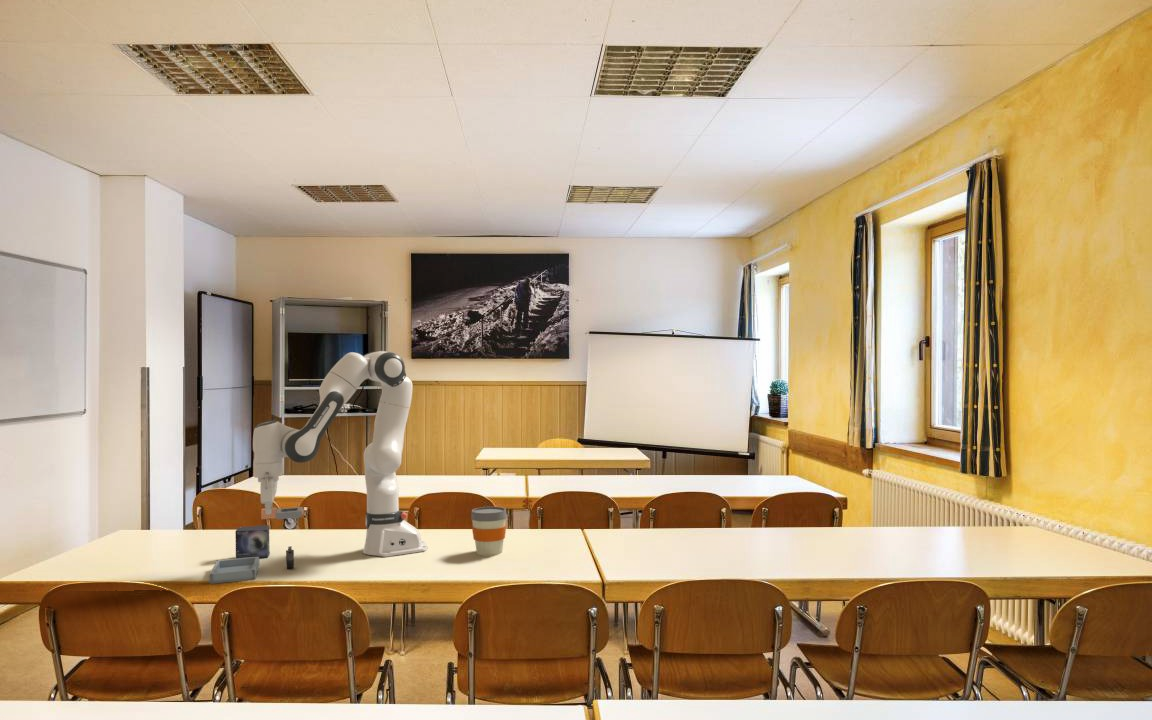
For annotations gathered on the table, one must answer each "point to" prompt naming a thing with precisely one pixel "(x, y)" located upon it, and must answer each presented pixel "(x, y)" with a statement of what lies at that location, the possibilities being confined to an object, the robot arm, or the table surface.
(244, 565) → the tray
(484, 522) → the reusable coffee cup
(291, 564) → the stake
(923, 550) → the table surface
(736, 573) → the table surface
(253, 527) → the small box
